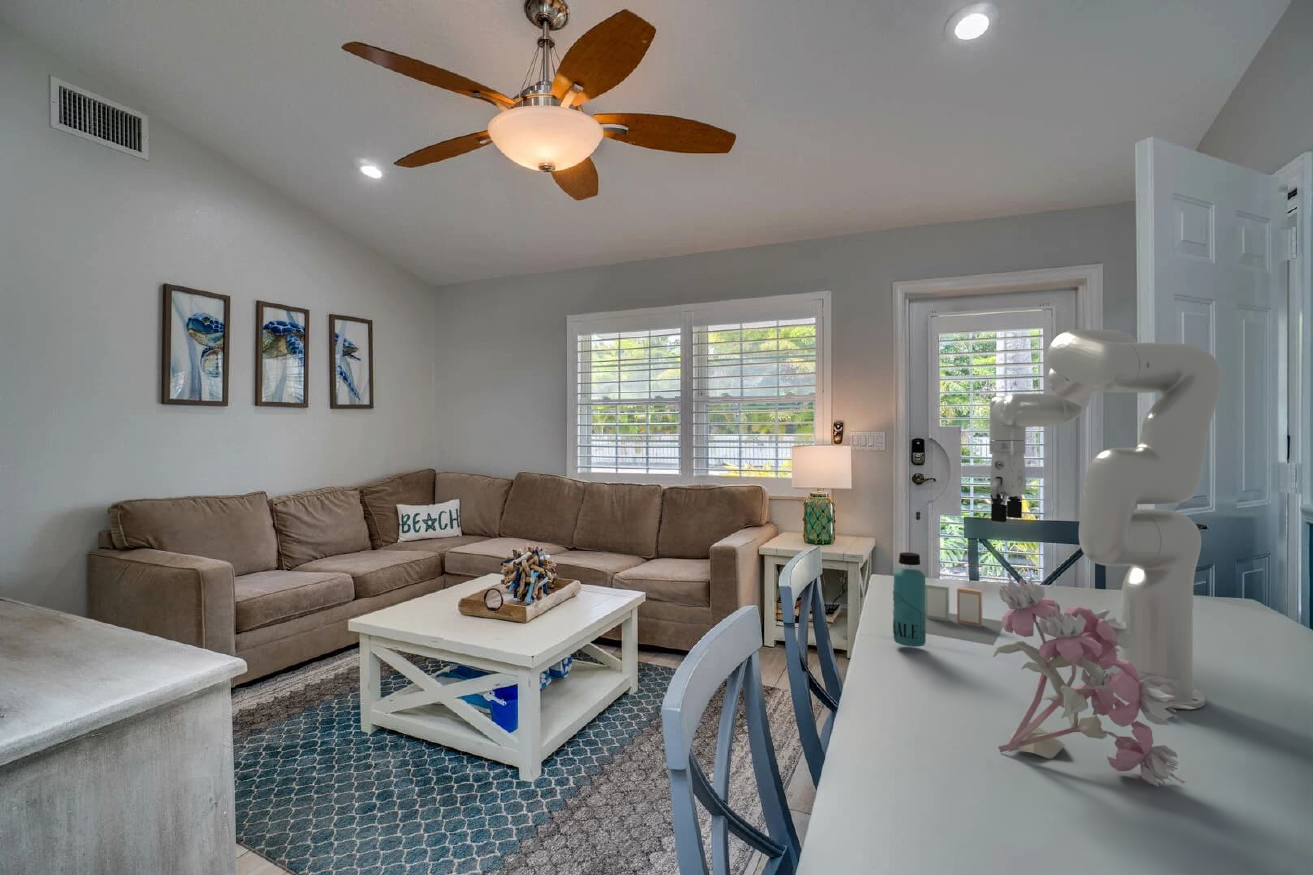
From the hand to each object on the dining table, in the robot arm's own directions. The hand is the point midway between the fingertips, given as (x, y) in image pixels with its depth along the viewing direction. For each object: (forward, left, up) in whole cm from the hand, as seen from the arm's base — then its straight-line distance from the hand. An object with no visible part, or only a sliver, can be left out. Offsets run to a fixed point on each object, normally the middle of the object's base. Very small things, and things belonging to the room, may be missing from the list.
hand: (1006, 519), depth 148 cm
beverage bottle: (-34, +14, -25) cm, 44 cm away
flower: (-67, -18, -25) cm, 74 cm away
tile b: (-10, +13, -24) cm, 29 cm away
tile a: (-10, +6, -24) cm, 27 cm away
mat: (-13, +10, -24) cm, 29 cm away
